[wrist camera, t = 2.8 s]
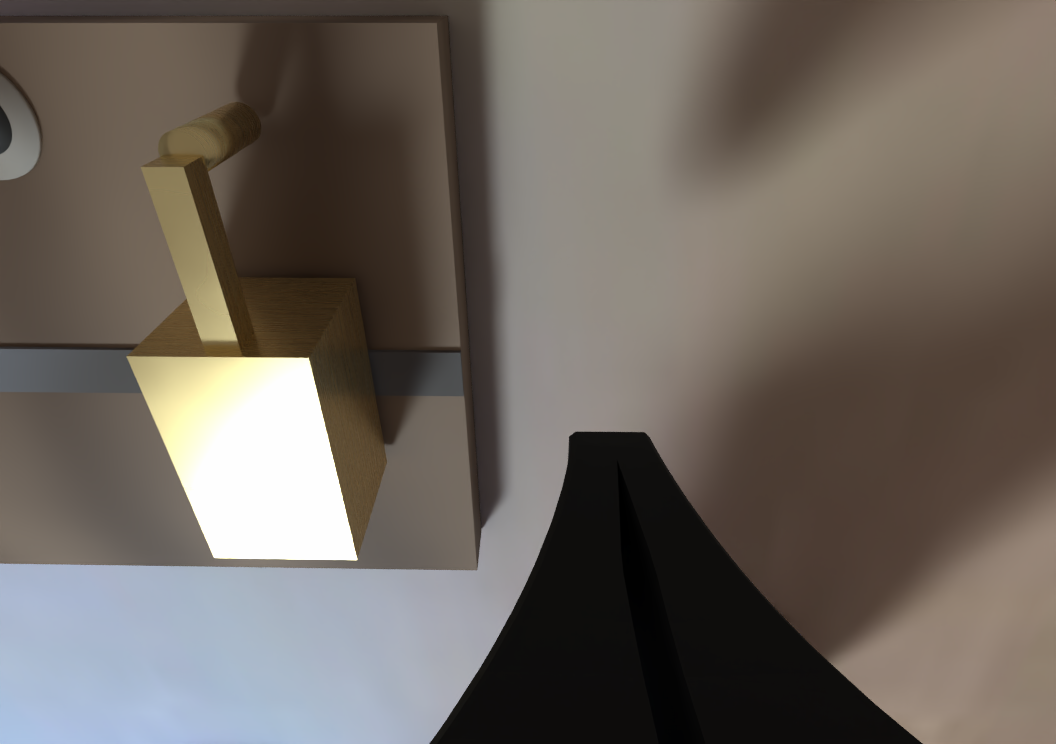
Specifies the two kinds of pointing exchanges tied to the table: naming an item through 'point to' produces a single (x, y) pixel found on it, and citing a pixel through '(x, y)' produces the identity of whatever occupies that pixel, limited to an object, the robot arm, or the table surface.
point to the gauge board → (258, 252)
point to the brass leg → (256, 375)
